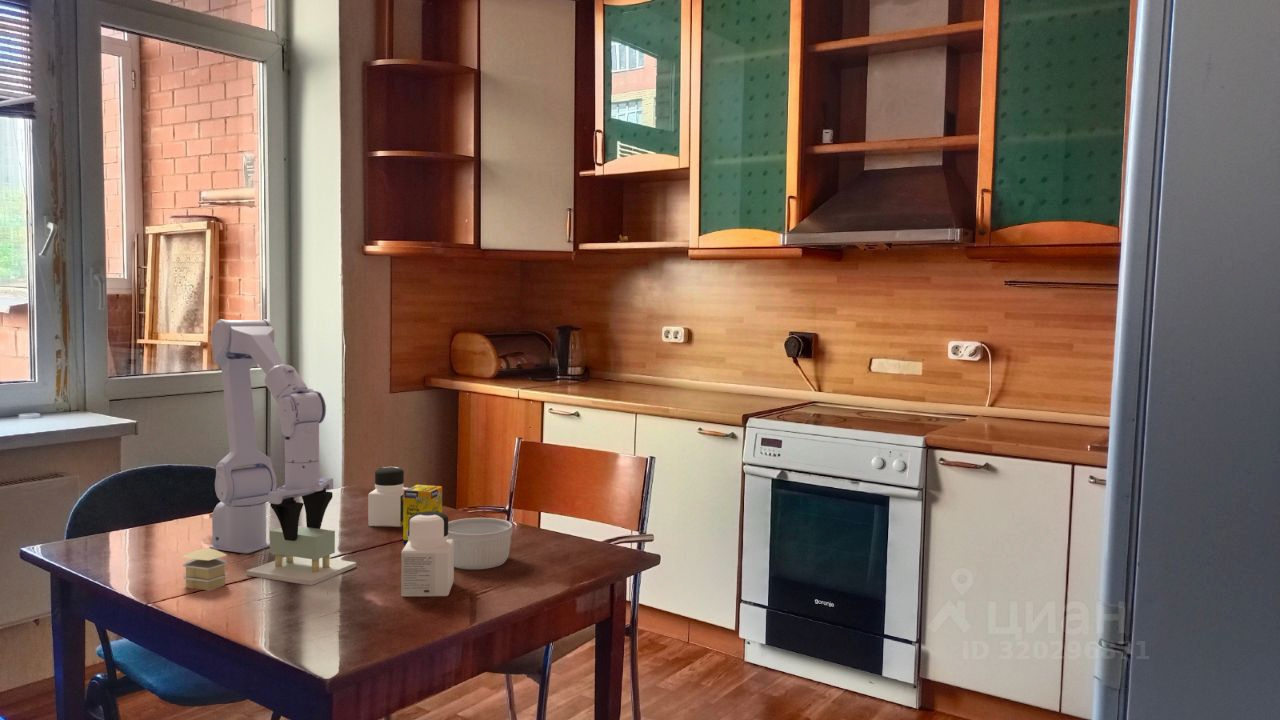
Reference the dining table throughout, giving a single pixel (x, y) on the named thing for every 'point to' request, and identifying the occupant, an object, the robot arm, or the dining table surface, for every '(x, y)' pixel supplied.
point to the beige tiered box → (205, 569)
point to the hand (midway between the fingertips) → (302, 536)
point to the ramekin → (480, 542)
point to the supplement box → (420, 503)
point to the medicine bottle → (387, 498)
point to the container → (427, 556)
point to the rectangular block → (304, 543)
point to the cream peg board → (301, 569)
